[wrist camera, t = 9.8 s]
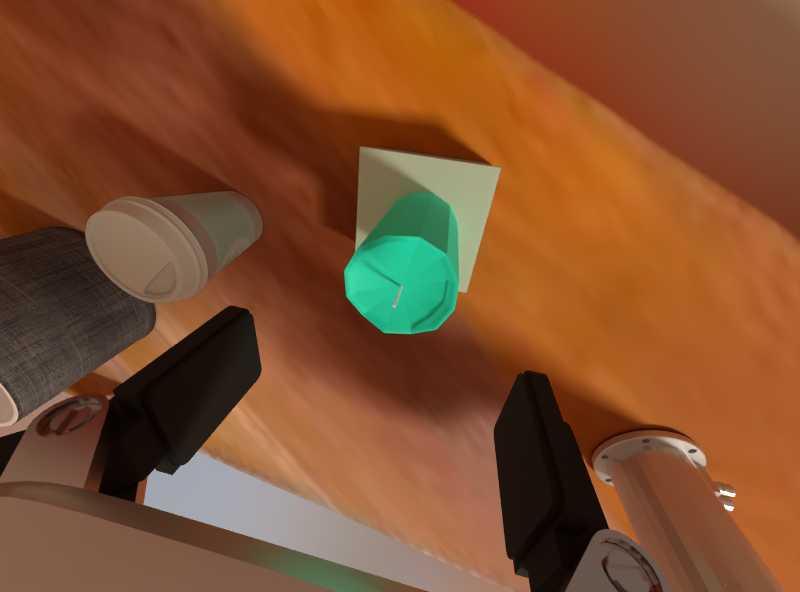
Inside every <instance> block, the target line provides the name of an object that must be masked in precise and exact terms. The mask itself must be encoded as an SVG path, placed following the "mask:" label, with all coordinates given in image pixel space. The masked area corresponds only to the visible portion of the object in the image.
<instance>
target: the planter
mask: <svg viewBox="0 0 800 592" xmlns="http://www.w3.org/2000/svg"><path fill="white" fill-rule="evenodd" d="M155 322H156V312H155V307H154V303H150V302H147V301H143V300H141V299H138V298H136V297H134V296H132V295H130V294H129V293H127V292H125V291H124V290H122V289H121V288H120V287H118V286H117V285H116V284H115V283H114V282H112V281H111V280H110V279H109V278H108V277H107V276H106V275H105V273H104V272H103V271H102V270H101V269H100V267H99V266H98V265H97V263H96V262H95V260H94V258H93V257H92V255H91V253H90V251H89V248H88V245H87V242H86V237H85V234H83V233H81V232H78V231H75V230H72V229H68V228H63V227H48V228H43V229H39V230H36V231H33V232H29V233H26V234H21V235H17V236H13V237H8V238H4V239H0V426H10V425H13V424H15V423H16V422H18V421H19V420H21V419H22V418H24V417H25V416H27V415H28V414H30V413H31V412H33V411H34V410H36V409H37V408H39V407H40V406H42V405H43V404H45V403H46V402H48V401H49V400H51V399H52V398H54V397H55V396H56V395H58V394H59V393H61V392H62V391H64V390H65V389H67V388H68V387H70V386H71V385H73V384H74V383H76V382H77V381H79V380H80V379H82V378H83V377H85V376H86V375H88V374H89V373H91V372H92V371H94V370H95V369H97V368H98V367H100V366H101V365H102V364H104V363H105V362H107V361H108V360H110V359H111V358H113V357H114V356H116V355H117V354H119V353H120V352H122V351H123V350H125V349H126V348H128V347H129V346H131V345H132V344H133V343H135V342H137V341H138V340H140V339H142V338H143V337H145V336H146V335H148V334H149V333H150V332H151V331H152V330H153V328H154V325H155Z"/></svg>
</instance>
